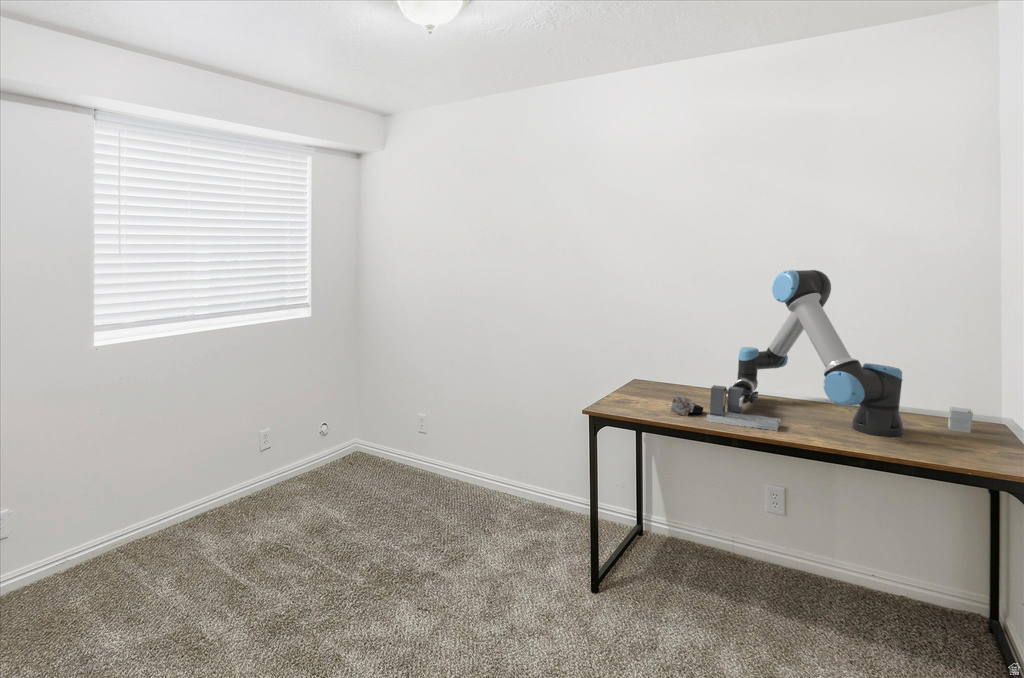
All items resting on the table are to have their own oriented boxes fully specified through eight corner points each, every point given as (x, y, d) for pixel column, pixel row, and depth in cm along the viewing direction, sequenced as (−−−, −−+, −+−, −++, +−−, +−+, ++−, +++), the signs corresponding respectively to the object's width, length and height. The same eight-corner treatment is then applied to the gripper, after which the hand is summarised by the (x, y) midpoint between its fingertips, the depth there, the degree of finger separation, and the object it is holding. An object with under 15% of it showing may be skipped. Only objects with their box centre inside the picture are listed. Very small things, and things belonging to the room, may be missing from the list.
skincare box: (947, 426, 204) (949, 406, 203) (968, 429, 201) (971, 408, 200) (948, 430, 199) (951, 410, 198) (971, 433, 196) (973, 412, 195)
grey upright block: (741, 415, 217) (743, 387, 215) (739, 418, 213) (741, 390, 212) (728, 413, 219) (729, 386, 218) (725, 416, 216) (727, 388, 214)
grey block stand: (779, 425, 205) (782, 391, 203) (777, 431, 198) (779, 396, 197) (710, 416, 217) (712, 384, 215) (706, 421, 210) (708, 388, 209)
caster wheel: (700, 417, 224) (699, 420, 215) (672, 408, 228) (669, 411, 219) (705, 401, 224) (704, 403, 214) (677, 393, 228) (674, 394, 219)
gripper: (766, 401, 227) (757, 415, 207) (719, 395, 236) (707, 408, 216) (767, 382, 226) (758, 395, 206) (720, 377, 235) (708, 389, 215)
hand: (732, 402), depth 211 cm, fingers closed on grey upright block, 5 cm apart
